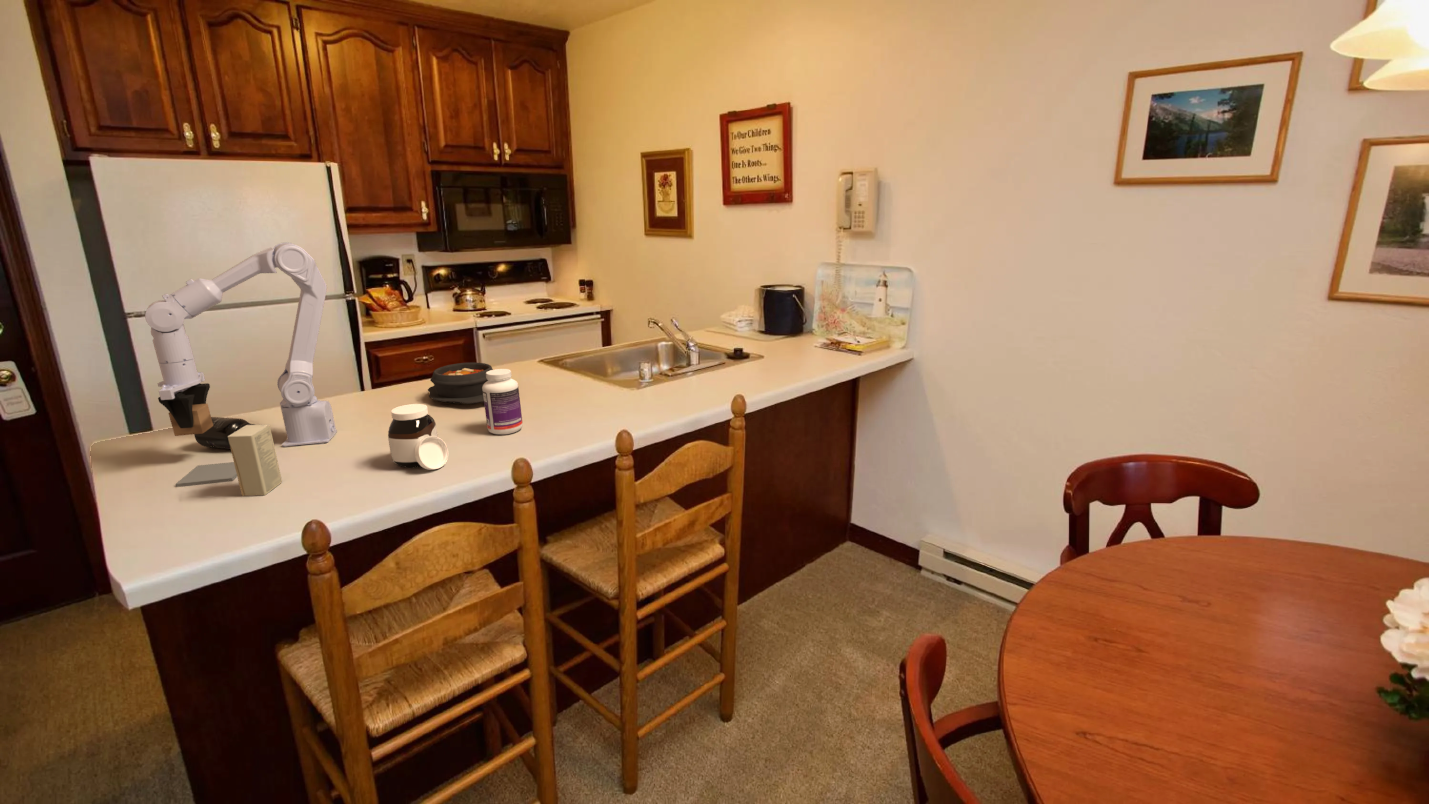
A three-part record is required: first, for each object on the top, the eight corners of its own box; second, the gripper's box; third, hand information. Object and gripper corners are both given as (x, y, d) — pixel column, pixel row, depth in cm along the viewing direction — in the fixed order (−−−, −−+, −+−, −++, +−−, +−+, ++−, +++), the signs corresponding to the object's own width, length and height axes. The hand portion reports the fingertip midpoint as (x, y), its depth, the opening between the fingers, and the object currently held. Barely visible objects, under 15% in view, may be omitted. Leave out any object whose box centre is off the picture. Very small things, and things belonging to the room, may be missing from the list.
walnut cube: (213, 425, 141) (207, 403, 140) (202, 433, 137) (196, 410, 135) (186, 428, 140) (180, 405, 139) (174, 436, 136) (168, 413, 134)
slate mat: (250, 462, 138) (250, 460, 138) (232, 480, 130) (231, 478, 130) (198, 468, 136) (197, 465, 136) (176, 486, 127) (175, 483, 127)
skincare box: (260, 483, 129) (246, 424, 125) (283, 482, 129) (270, 423, 125) (240, 497, 123) (225, 435, 119) (265, 496, 123) (251, 435, 119)
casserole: (521, 398, 181) (518, 369, 179) (459, 415, 168) (454, 383, 165) (473, 383, 197) (469, 355, 194) (412, 397, 183) (407, 368, 180)
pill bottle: (530, 427, 158) (524, 369, 154) (507, 438, 151) (500, 377, 147) (504, 422, 161) (497, 366, 157) (480, 433, 154) (472, 374, 150)
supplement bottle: (194, 450, 145) (240, 453, 142) (190, 419, 143) (236, 422, 141) (223, 443, 151) (267, 446, 149) (219, 414, 150) (264, 416, 148)
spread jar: (410, 452, 143) (402, 401, 140) (462, 452, 143) (455, 401, 140) (382, 474, 132) (372, 419, 129) (438, 474, 132) (430, 419, 128)
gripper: (170, 353, 140) (187, 414, 144) (133, 370, 126) (152, 436, 130) (209, 351, 141) (224, 411, 146) (176, 367, 128) (194, 432, 132)
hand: (193, 423), depth 138 cm, fingers closed on walnut cube, 5 cm apart
